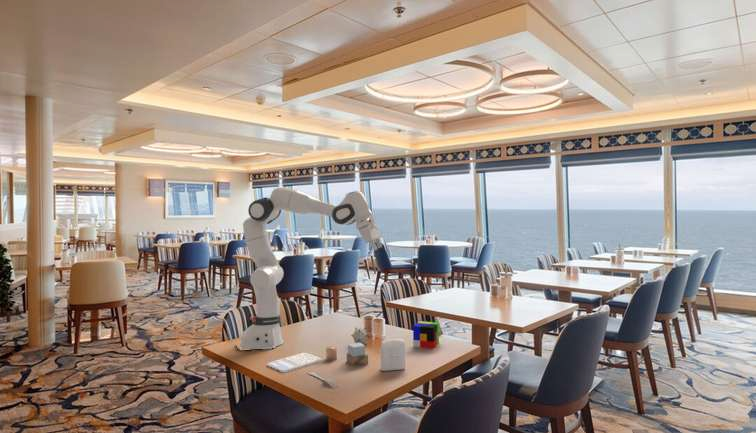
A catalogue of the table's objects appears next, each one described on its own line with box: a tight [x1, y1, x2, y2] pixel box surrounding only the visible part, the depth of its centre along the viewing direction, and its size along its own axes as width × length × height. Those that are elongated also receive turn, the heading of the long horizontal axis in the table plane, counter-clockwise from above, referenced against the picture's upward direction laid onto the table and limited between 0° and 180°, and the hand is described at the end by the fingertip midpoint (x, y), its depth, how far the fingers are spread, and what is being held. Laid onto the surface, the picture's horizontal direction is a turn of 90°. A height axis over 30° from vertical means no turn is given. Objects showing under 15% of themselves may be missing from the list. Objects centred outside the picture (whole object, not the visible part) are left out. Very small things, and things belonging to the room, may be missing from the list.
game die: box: [350, 327, 370, 346], centre depth 214 cm, size 9×8×10 cm
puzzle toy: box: [412, 320, 440, 349], centre depth 212 cm, size 10×10×10 cm
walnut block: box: [346, 352, 369, 367], centre depth 187 cm, size 7×7×4 cm
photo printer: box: [380, 338, 406, 372], centre depth 179 cm, size 10×4×12 cm, turn 103°
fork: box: [307, 371, 338, 389], centre depth 168 cm, size 3×21×3 cm, turn 37°
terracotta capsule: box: [325, 345, 338, 361], centre depth 192 cm, size 5×5×5 cm
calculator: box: [266, 352, 323, 373], centre depth 187 cm, size 13×20×2 cm, turn 135°
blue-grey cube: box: [347, 342, 366, 357], centre depth 187 cm, size 6×6×4 cm
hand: (378, 248), depth 208 cm, fingers open, 8 cm apart
